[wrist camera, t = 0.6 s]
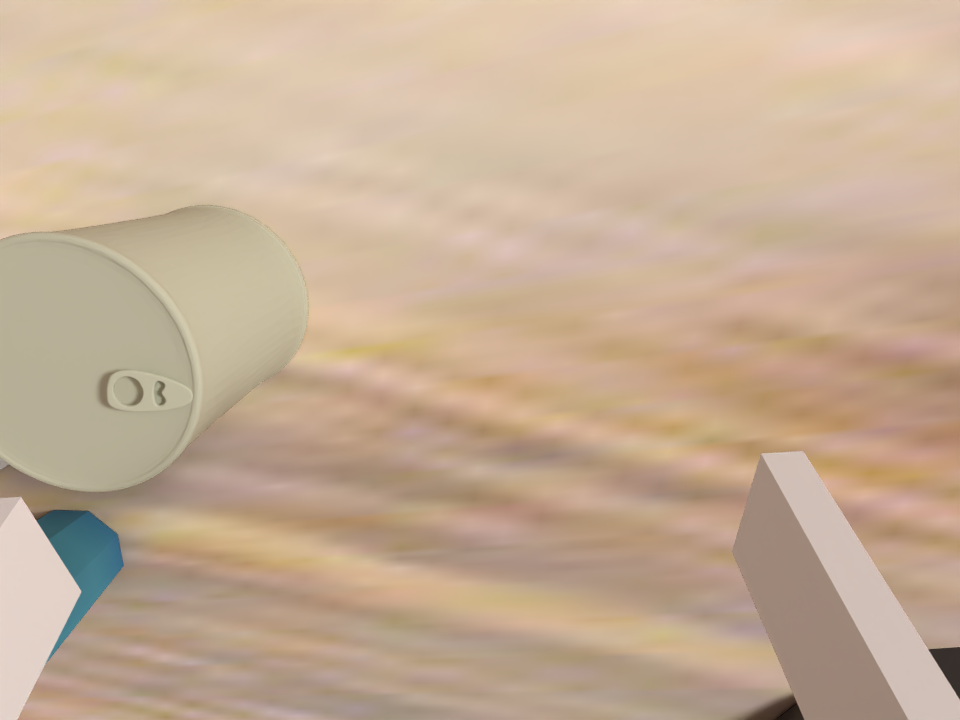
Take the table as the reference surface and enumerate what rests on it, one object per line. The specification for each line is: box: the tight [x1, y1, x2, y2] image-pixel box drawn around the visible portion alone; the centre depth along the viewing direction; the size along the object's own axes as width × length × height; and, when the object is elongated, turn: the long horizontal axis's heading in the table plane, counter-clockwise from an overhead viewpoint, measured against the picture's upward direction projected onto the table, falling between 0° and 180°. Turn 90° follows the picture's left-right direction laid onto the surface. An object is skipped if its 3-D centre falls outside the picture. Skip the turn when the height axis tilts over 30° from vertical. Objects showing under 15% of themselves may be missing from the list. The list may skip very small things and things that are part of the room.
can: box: [0, 205, 308, 492], centre depth 27 cm, size 9×9×12 cm
